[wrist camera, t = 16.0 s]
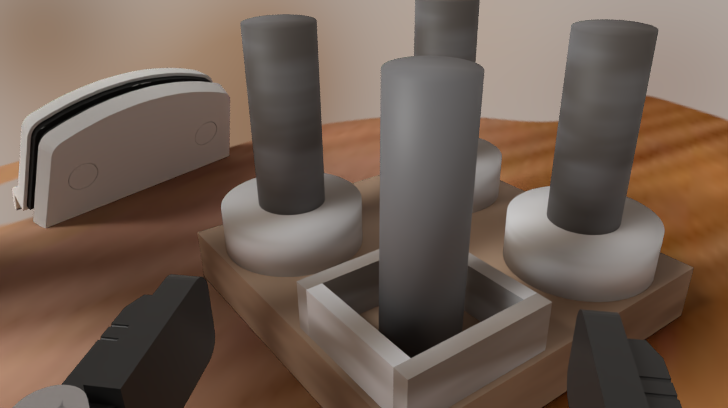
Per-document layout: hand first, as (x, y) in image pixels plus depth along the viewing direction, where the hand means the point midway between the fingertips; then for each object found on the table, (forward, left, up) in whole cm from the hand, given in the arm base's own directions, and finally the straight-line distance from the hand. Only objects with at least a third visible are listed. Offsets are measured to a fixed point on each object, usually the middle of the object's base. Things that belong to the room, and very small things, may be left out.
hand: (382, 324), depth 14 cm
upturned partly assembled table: (-13, +13, -12) cm, 23 cm away
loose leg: (-8, +8, -9) cm, 15 cm away
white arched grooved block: (-38, +5, -13) cm, 41 cm away
